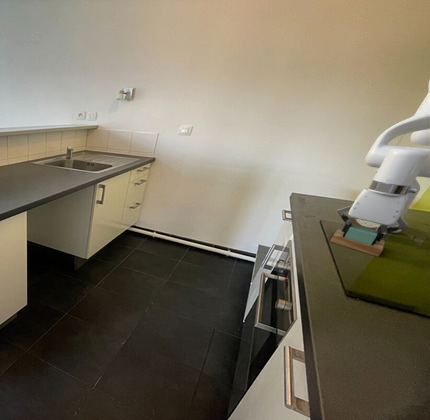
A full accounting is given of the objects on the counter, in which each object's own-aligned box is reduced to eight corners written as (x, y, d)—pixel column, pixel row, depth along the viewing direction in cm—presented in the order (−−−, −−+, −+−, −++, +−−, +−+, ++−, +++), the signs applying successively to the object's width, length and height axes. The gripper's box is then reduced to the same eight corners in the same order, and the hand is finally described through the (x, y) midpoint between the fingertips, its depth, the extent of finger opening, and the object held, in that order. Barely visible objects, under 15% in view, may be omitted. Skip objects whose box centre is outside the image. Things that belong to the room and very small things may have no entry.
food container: (395, 240, 90) (411, 215, 86) (375, 238, 91) (390, 213, 87) (363, 226, 101) (376, 204, 97) (346, 224, 102) (358, 202, 98)
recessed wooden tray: (334, 234, 92) (338, 228, 91) (380, 247, 84) (384, 241, 83) (329, 241, 86) (333, 235, 85) (378, 256, 78) (382, 249, 77)
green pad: (346, 234, 88) (351, 224, 87) (371, 241, 84) (378, 231, 82) (343, 238, 85) (349, 228, 83) (370, 246, 80) (376, 235, 79)
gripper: (434, 194, 73) (399, 246, 80) (349, 180, 86) (325, 226, 93) (436, 198, 69) (399, 252, 76) (346, 183, 82) (321, 230, 88)
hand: (358, 237), depth 84 cm, fingers closed on green pad, 5 cm apart
